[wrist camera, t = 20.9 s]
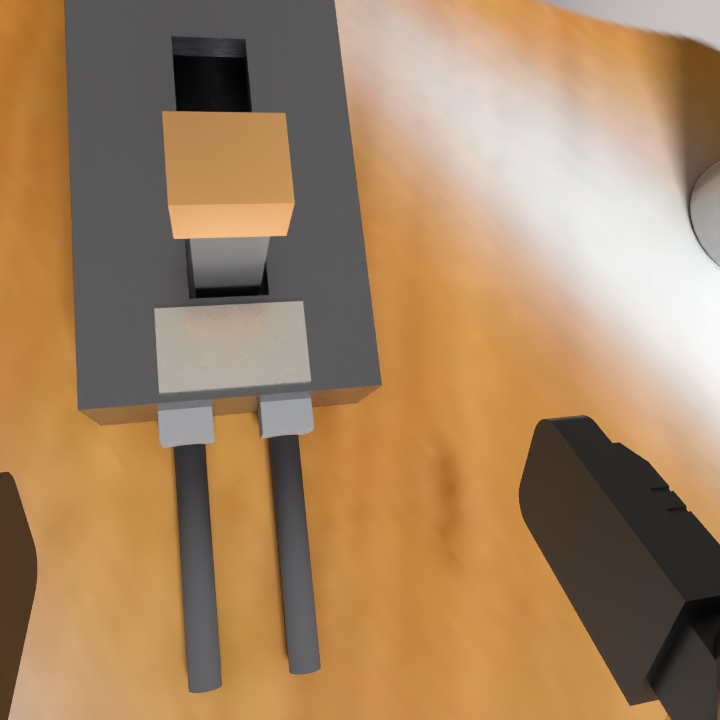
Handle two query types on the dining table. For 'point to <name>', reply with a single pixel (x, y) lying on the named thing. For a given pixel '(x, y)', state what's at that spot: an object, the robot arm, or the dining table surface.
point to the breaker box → (173, 256)
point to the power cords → (199, 598)
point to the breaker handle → (228, 194)
